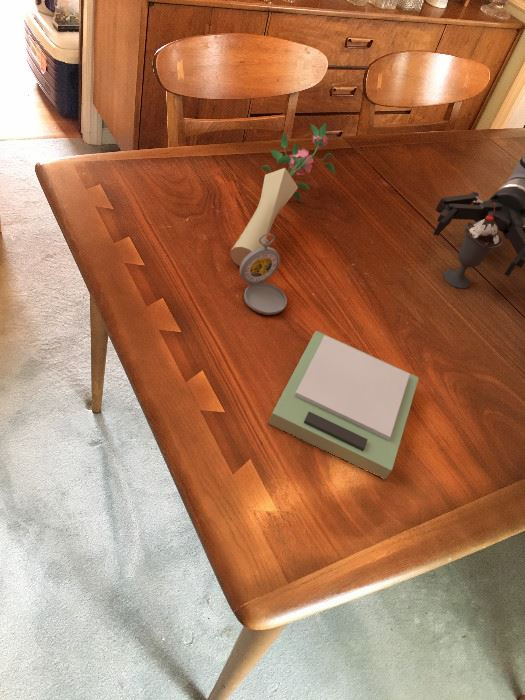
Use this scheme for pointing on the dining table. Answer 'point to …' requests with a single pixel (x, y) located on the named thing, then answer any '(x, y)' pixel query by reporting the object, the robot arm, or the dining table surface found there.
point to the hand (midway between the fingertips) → (473, 248)
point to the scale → (347, 404)
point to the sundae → (474, 248)
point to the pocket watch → (259, 293)
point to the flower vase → (277, 193)
